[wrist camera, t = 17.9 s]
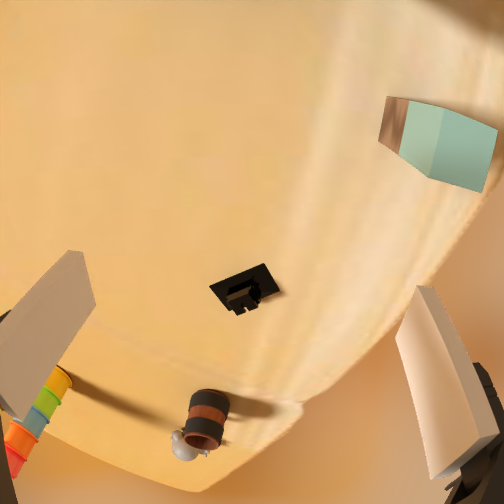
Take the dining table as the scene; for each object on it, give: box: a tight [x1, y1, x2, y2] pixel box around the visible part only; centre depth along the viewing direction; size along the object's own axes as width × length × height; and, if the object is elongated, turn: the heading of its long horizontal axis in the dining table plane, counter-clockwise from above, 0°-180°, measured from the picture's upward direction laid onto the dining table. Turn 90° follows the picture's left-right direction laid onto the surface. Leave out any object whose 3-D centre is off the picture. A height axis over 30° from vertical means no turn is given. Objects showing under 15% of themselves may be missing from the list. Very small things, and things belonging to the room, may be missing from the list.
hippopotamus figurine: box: [171, 431, 210, 461], centre depth 73 cm, size 7×12×8 cm, turn 70°
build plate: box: [209, 263, 280, 316], centre depth 48 cm, size 12×7×5 cm, turn 120°
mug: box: [183, 389, 230, 450], centre depth 62 cm, size 9×12×12 cm
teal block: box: [398, 100, 498, 193], centre depth 25 cm, size 6×6×8 cm
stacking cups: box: [4, 366, 72, 479], centre depth 56 cm, size 10×10×35 cm
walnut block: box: [378, 96, 409, 154], centre depth 31 cm, size 6×6×8 cm
